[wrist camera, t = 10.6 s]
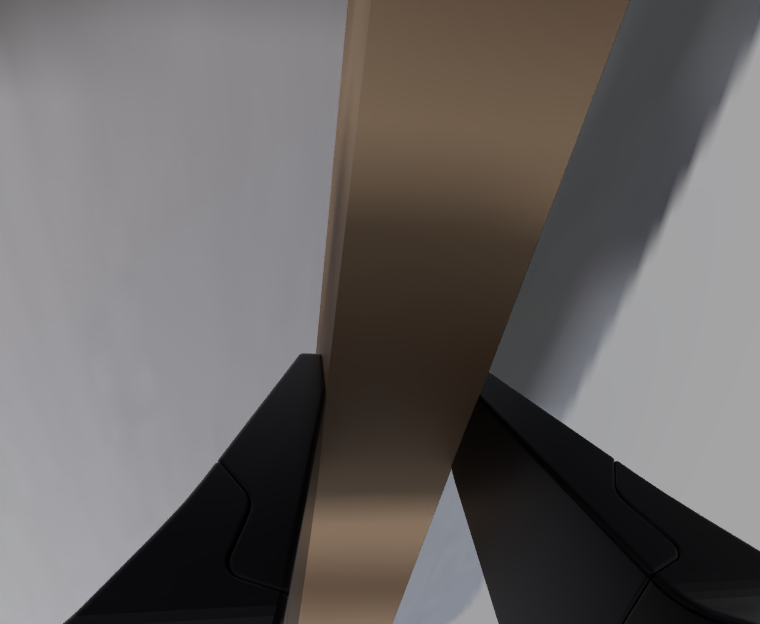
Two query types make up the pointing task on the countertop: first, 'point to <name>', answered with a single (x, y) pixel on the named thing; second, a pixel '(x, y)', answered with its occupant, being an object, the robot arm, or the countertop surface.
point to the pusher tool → (430, 257)
